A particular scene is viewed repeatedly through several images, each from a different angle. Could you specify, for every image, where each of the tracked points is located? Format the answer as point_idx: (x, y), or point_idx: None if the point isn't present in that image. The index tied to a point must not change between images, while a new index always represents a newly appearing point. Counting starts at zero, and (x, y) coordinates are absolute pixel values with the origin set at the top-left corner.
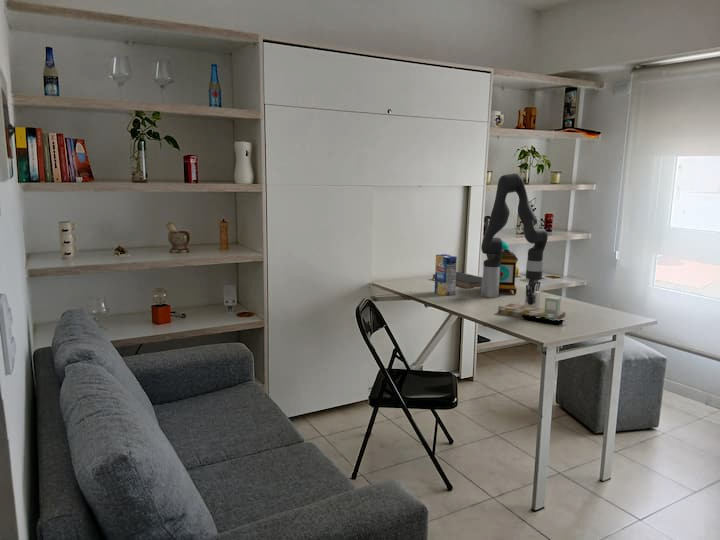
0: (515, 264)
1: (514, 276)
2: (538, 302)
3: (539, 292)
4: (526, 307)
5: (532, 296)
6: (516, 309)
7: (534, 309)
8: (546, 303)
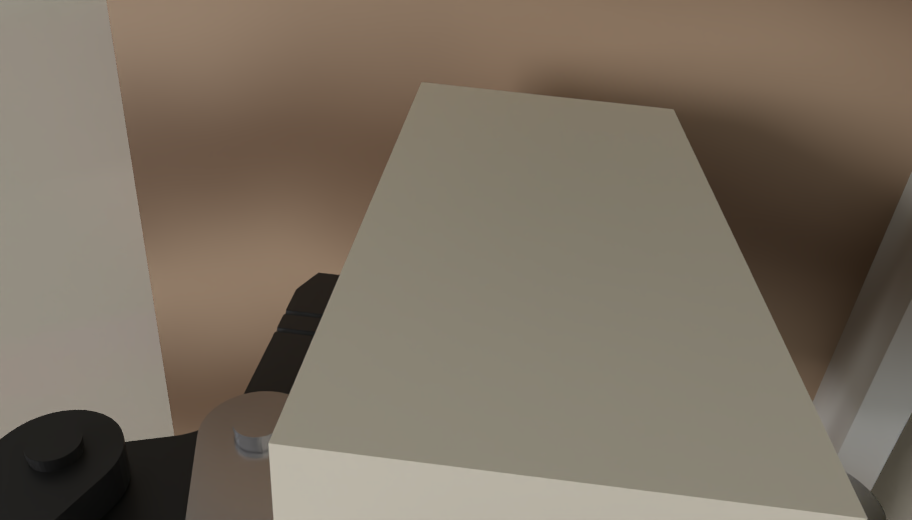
0: None
1: None
2: (516, 159)
3: (439, 425)
4: None
5: (876, 508)
6: (868, 478)
7: (363, 178)
8: None
